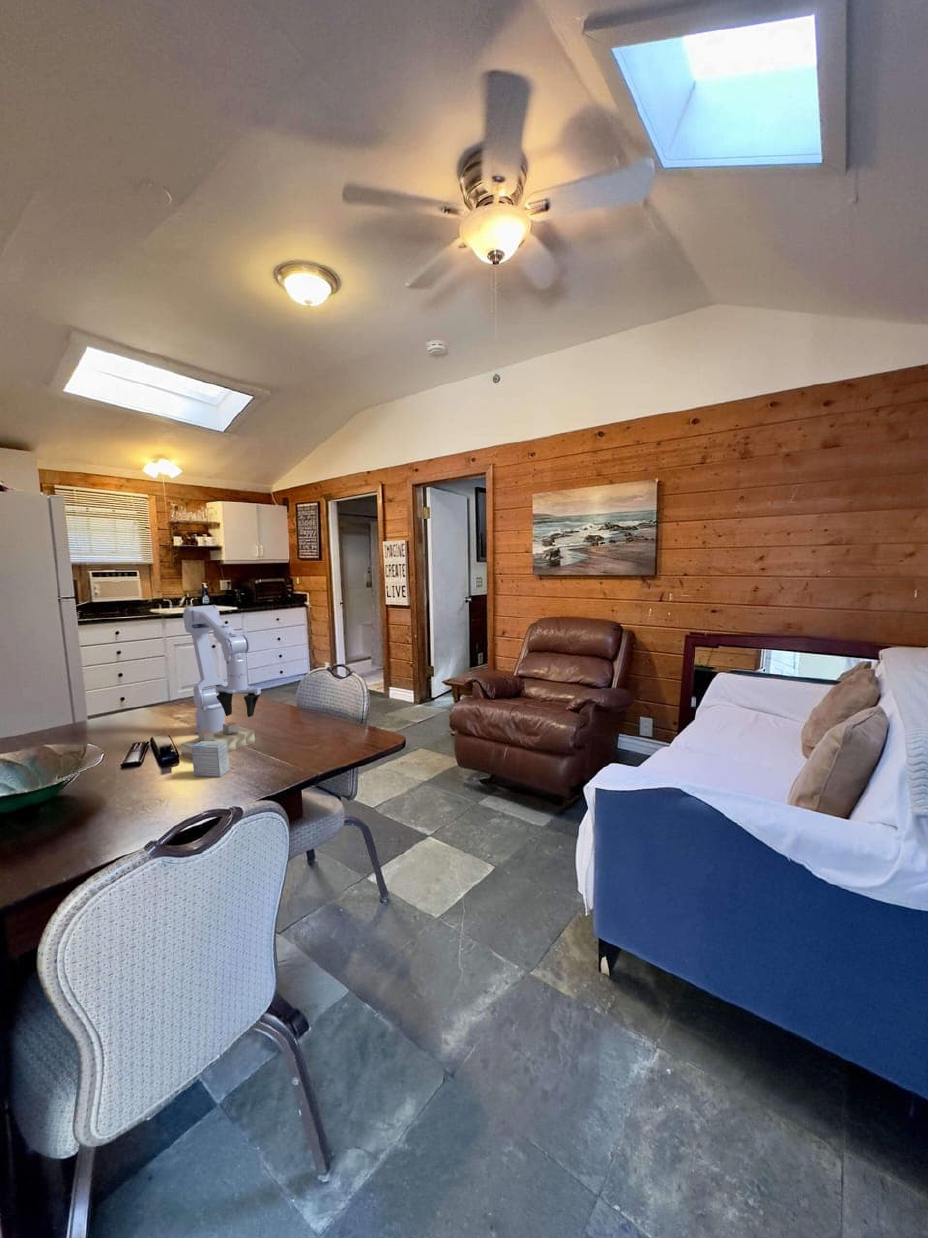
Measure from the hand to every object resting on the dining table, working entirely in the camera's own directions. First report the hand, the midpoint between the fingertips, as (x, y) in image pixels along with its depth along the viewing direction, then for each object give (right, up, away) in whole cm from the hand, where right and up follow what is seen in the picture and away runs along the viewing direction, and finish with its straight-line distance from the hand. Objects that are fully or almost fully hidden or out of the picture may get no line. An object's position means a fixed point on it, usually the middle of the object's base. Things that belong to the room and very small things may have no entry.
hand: (239, 715), depth 153 cm
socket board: (-5, -10, -2) cm, 12 cm away
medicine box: (+2, -12, -20) cm, 23 cm away
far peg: (-3, -7, +1) cm, 8 cm away
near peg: (-7, -8, -6) cm, 12 cm away
